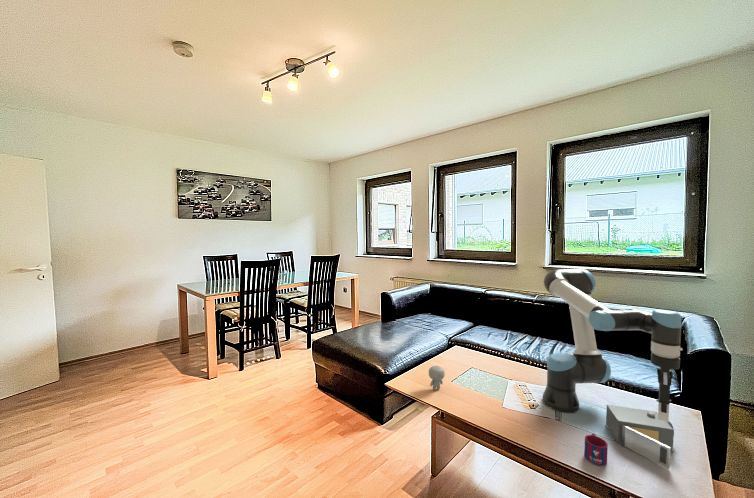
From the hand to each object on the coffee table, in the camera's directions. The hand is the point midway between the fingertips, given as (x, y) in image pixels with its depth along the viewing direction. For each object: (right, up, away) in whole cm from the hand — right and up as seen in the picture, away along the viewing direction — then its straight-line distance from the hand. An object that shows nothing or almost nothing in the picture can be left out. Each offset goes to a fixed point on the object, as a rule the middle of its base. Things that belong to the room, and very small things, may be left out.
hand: (663, 419), depth 110 cm
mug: (-22, -15, +3) cm, 27 cm away
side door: (-5, -14, +2) cm, 15 cm away
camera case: (+2, -14, +12) cm, 19 cm away
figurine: (-71, -13, +51) cm, 89 cm away
